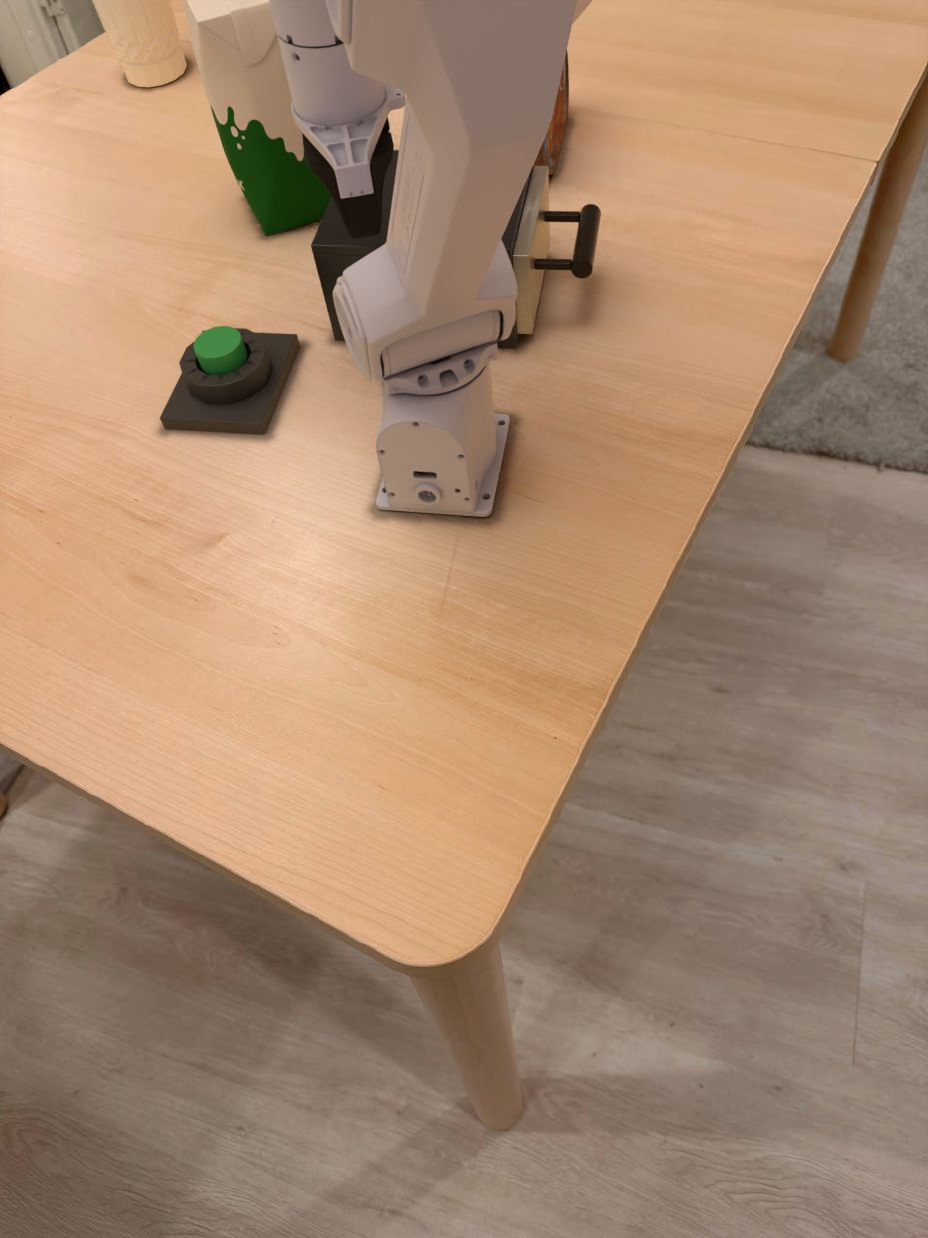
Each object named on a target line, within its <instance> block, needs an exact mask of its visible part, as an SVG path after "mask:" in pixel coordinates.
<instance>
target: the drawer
mask: <svg viewBox="0 0 928 1238" xmlns="http://www.w3.org/2000/svg"><path fill="white" fill-rule="evenodd" d="M549 177H550V175H549V173H548V166H533V168H532V173H531V177H530V181H529V186H528V190H527V194H526V199H525V203H524V207H523V212H522V216H521V220H520V225H519V229H518V230H517V234H516V238H515V243H514V247H513V251H512V259H513V271H514V274H515V278H516V282H517V286H518V290H517V293H518V296H517V298H516V300H515V308H516V329H517V334H519V335H533V332H534V327H535V322H536V317H537V312H538V307H539V302H540V297H541V291H542V286H543V280H544V275H545V272H546V271H570V272H571V274H572V275H573V276H574V277H575V278H577V279H586V278H588V277H590V276H591V275H592V273H593V270H594V265H595V264H594V263H595V256H596V252H597V251H596V250H597V243H598V237H599V230H600V225H601V217H602V210H601V209H600V207H599V206H597V204H593V203H588V204H586V205H584V206H583V207H582V208H581V210H580V211H579V210H578V211H576V210H550V184H549V183H550V182H549V181H550V180H549V179H550V178H549ZM550 223H578V224H577V229H576V236H575V240H574V247H573V251H572V257H571V258H548V256H549V251H550V247H551V246H550V245H551V232H550V231H551V230H550Z"/></svg>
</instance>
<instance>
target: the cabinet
mask: <svg viewBox="0 0 928 1238" xmlns="http://www.w3.org/2000/svg"><path fill="white" fill-rule="evenodd" d="M398 153H399V149H394V150H393V156H392V160H391V162H390V164H389V167H388V169H387V172H386V176H385V180H384V185H383V195H382V222H381V230H380V234H379V235H373V236H368V237H362V238H356V239H352V238H351V237H350V235H349V233H348V232H347V230H346V228H345V226H344V223H343V221H342V219H341V216H340V214H339V212H338V209H337V207H336V205H335V203H334V201H333V199H332V197H331V199H330V202H329V204H328V206H327V209H326V211H325V213H324V216H323V218H322V220H320V223H319V225H318V227H317V230H316V233H315V234H314V237H313V239H312V241H311V244H310V248H311V252H312V256H313V260H314V264H315V267H316V271H317V275H318V279H319V283H320V287H321V291H322V295H323V299H324V303H325V307H326V310H327V314H328V318H329V322H330V326H331V330H332V334H333V339H334V341H335V342H345V339H344V336H343V333H342V330H341V327H340V323H339V320H338V317H337V313H336V309H335V305H334V299H333V290H334V287H335V285H336V284H337V279H338V278H339V277H341V276H343V271H344V270H345V269H347V268H348V267H350V266H351V265H353V264H354V263H356V262H357V261H359V260H360V259H362V258H364V257H365V256H367V255H368V254H370V253H372V252H373V251H375V250H376V249H378V248H379V247H381V246H382V245H384V244H385V243H386V242H387V234H388V227H389V220H390V212H391V205H392V197H393V190H394V183H395V175H396V168H397V161H398ZM533 166H534V164H533ZM533 166H532V168H533ZM531 173H532V169H531V171H530V173H529V176H528V178H527V180H526V183H525V185H524V187H523V190H522V192H521V194H520V197H519V199H518V201H517V204H516V206H515V208H514V211H513V213H512V215H511V217H510V220H509V222H508V224H507V227H506V229H505V231H504V234H503V236H502V238H501V240H502V242H503V244H504V246H505V249H506V251H507V254H508V256H509V259H510V262H511V265H512V268H513V259H512V251H513V247H514V243H515V238H516V234H517V230H518V229H519V225H520V220H521V216H522V212H523V207H524V203H525V199H526V194H527V190H528V186H529V181H530V177H531ZM519 336H520V334H517V329H516V317H515V323H514V325H513V327H512V331H511V334H510V336H509V337H508V338H507V339H505V340H501V341H497V348H501V349H502V348H504V349H516V348H517V346H518V340H519Z"/></svg>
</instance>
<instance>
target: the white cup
mask: <svg viewBox="0 0 928 1238" xmlns="http://www.w3.org/2000/svg"><path fill="white" fill-rule="evenodd" d="M91 1H92V4H93V6H94V8H95V11H96V13H97V16H98V18H99V21H100V23H101V25H102V27H103V30H104V32H105V34H106V36H107V38H108V42H109V43H110V45H111V48H112V49H113V52H114V55H115V56H116V58H117V59H118V60H119V63H120V65H121V67H122V69H123V72H124V75H125V77H126V79H127V82H128V83H129V84H131V85H133V86H135V87H139V88H155V87H160V86H164V85H167V84H169V83H171V82H173V81H176V80H177V79H178V78H180V77H181V76H182V75H183V74H184V73H185V71H186V69H187V68H188V67H187V62H186V57H185V54H184V51H183V48H182V44H181V39H180V37H181V36H180V33H179V28H178V25H177V20H176V17H175V12H174V9H173V6H172V2H171V0H91Z"/></svg>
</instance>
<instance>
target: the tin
mask: <svg viewBox="0 0 928 1238" xmlns="http://www.w3.org/2000/svg"><path fill="white" fill-rule="evenodd" d="M569 70H570V69H569V53H568V50H567V51H566V56H565V60H564V65H563V70H562V75H561V79H560V84H559V89H558V94H557V98H556V103H555V107H554V112H553V116H552V119H551V122H550V125H549V129H548V132H547V134H546V136H545V139H544V141H543V143H542V146H541V148H540V150H539V153H538V155H537V157H536V160H535V162H534V166H548V173H549V176H552V175H553V174H554V172H555V170H556V167H557V162H558V159H559V154H560V152H561V146H562V143H563V139H564V135H565V131H566V129H567V122H568V115H569V103H570V75H569V73H570V71H569Z"/></svg>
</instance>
